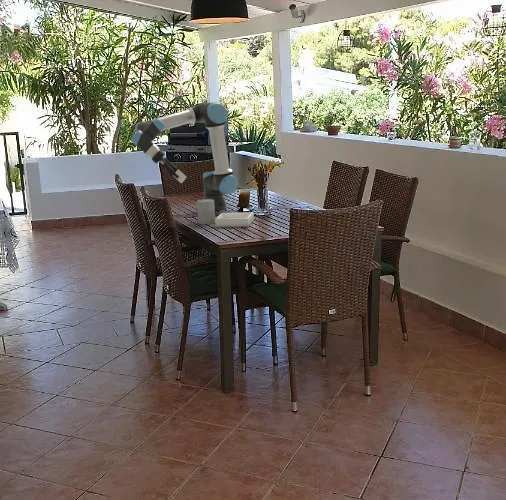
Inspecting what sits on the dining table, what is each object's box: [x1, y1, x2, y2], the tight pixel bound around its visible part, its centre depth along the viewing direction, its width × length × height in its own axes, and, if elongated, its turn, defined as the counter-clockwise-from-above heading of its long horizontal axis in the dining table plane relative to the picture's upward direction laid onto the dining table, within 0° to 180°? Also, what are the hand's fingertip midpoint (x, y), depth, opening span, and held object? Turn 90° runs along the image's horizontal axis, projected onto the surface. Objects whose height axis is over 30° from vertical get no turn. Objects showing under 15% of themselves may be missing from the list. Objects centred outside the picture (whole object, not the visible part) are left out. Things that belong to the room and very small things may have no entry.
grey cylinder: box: [196, 198, 216, 225], centre depth 392 cm, size 10×10×12 cm
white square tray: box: [214, 211, 255, 228], centre depth 385 cm, size 18×18×4 cm
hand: (184, 180), depth 393 cm, fingers open, 13 cm apart
